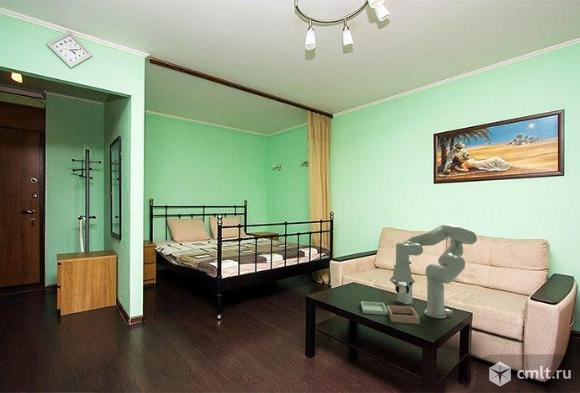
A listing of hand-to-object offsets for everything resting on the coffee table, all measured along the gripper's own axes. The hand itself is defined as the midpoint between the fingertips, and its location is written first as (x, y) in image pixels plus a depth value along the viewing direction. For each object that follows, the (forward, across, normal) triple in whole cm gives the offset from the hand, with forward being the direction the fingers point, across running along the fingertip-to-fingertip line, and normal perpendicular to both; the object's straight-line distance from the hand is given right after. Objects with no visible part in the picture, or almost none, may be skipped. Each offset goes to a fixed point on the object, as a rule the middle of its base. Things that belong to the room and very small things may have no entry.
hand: (402, 292), depth 171 cm
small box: (+16, -8, -29) cm, 34 cm away
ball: (-2, 0, 0) cm, 2 cm away
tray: (+15, +16, -9) cm, 24 cm away
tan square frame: (+15, 0, 0) cm, 15 cm away
